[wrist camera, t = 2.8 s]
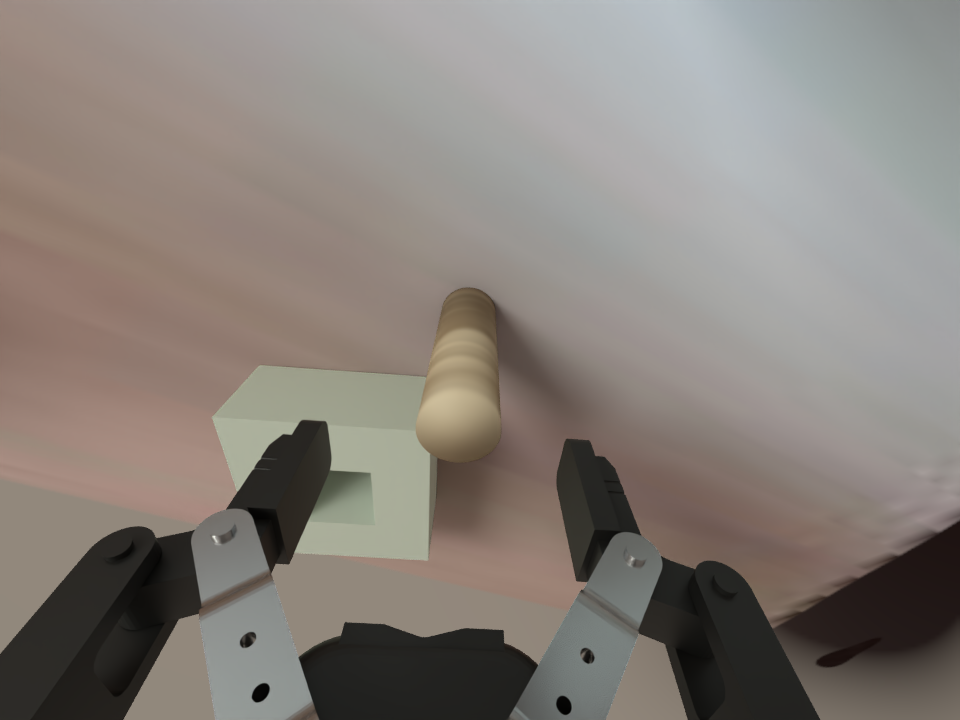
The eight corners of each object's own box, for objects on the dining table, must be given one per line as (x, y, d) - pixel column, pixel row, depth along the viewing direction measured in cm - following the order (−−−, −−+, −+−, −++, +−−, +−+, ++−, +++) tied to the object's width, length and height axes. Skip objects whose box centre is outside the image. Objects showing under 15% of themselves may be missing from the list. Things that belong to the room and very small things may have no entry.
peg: (442, 285, 22) (415, 393, 13) (498, 289, 22) (505, 399, 13) (441, 334, 23) (415, 459, 15) (492, 338, 24) (496, 465, 15)
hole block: (259, 365, 25) (211, 417, 20) (439, 377, 25) (430, 431, 21) (289, 489, 30) (257, 550, 26) (436, 498, 31) (428, 560, 26)
